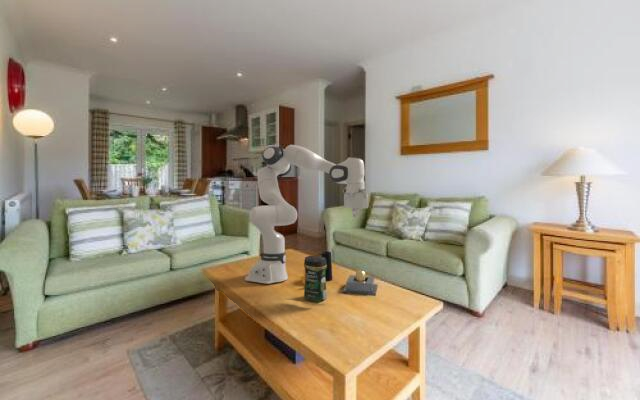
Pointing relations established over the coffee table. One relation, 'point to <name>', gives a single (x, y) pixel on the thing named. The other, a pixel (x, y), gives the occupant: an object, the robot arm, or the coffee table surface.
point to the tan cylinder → (360, 275)
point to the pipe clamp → (303, 278)
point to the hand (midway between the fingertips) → (355, 217)
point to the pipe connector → (328, 265)
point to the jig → (360, 286)
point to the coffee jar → (315, 278)
